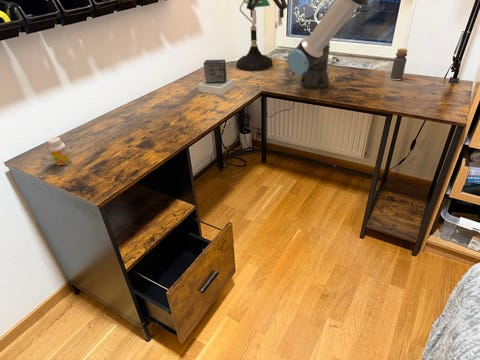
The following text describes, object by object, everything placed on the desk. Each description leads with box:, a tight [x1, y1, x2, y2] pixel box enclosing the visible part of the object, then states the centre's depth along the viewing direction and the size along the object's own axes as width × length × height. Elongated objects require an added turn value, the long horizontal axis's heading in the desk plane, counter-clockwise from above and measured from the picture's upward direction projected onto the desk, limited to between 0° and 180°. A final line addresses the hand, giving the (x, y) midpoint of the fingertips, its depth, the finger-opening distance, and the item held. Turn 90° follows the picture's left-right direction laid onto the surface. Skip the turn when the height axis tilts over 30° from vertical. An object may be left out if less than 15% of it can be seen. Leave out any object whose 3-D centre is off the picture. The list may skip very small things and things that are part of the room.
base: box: [197, 77, 236, 96], centre depth 177 cm, size 14×14×4 cm
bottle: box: [390, 48, 409, 79], centre depth 172 cm, size 6×6×15 cm
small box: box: [203, 59, 228, 83], centre depth 173 cm, size 11×6×10 cm, turn 84°
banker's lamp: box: [235, 0, 274, 72], centre depth 197 cm, size 26×23×40 cm
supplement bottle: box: [48, 136, 72, 166], centre depth 122 cm, size 5×5×10 cm
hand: (267, 25), depth 163 cm, fingers open, 13 cm apart
